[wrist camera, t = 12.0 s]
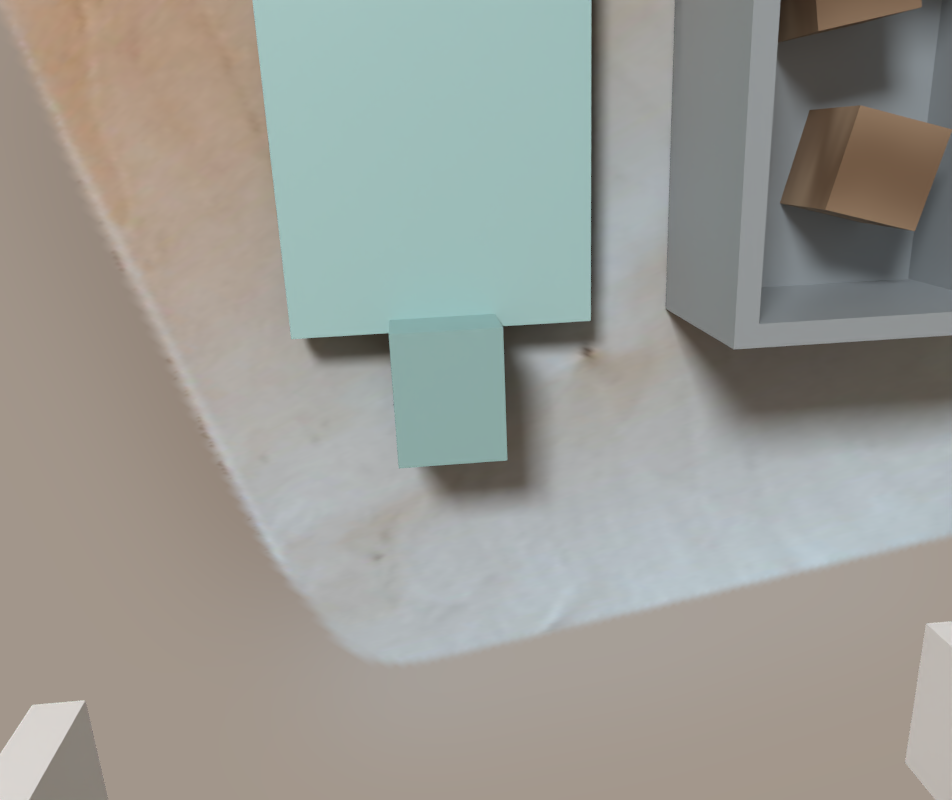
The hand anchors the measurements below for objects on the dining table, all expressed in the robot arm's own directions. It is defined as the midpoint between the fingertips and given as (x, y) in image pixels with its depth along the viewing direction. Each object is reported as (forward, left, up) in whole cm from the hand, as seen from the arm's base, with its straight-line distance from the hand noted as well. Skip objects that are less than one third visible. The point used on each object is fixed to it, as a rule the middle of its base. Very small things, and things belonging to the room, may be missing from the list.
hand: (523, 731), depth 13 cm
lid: (-8, 0, -22) cm, 23 cm away
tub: (-10, +14, -21) cm, 28 cm away
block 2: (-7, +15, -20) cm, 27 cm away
